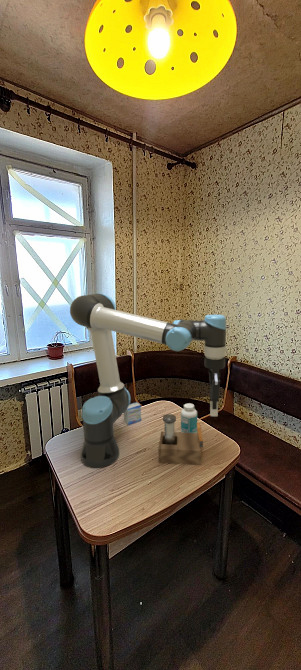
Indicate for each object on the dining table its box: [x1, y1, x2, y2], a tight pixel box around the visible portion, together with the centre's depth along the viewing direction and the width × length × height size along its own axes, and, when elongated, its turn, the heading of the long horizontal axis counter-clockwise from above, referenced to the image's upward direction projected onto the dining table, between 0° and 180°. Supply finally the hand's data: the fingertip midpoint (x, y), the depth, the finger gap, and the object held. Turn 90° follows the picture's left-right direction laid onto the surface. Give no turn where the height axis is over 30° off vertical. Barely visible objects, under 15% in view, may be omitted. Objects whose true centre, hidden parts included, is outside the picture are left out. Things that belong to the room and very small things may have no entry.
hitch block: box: [158, 430, 204, 466], centre depth 109 cm, size 17×12×8 cm
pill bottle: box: [180, 402, 198, 433], centre depth 124 cm, size 8×7×14 cm
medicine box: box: [123, 402, 142, 426], centre depth 135 cm, size 8×4×9 cm, turn 123°
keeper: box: [197, 421, 204, 442], centre depth 107 cm, size 6×4×1 cm
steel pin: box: [162, 413, 177, 445], centre depth 109 cm, size 5×5×16 cm
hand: (213, 415), depth 105 cm, fingers closed
